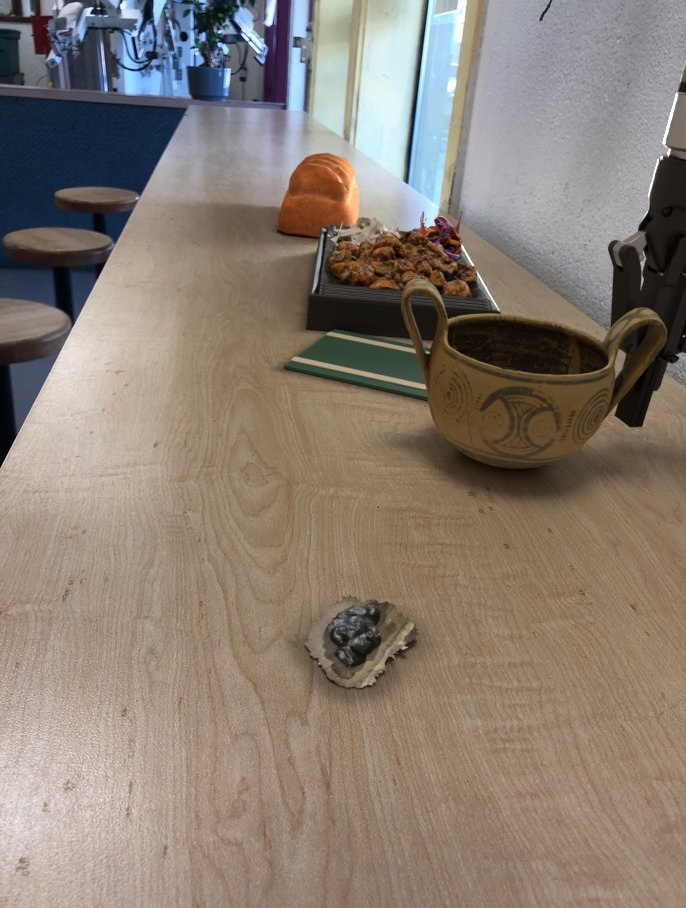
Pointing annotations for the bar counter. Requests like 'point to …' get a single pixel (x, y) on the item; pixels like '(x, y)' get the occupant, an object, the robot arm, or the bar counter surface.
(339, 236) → the food platter
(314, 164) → the bread
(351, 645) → the dark lumps on shell
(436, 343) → the ceramic bowl
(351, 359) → the dish cloth
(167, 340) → the bar counter surface
